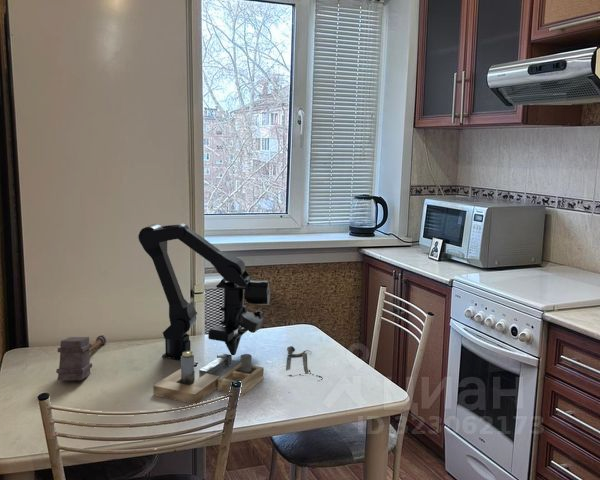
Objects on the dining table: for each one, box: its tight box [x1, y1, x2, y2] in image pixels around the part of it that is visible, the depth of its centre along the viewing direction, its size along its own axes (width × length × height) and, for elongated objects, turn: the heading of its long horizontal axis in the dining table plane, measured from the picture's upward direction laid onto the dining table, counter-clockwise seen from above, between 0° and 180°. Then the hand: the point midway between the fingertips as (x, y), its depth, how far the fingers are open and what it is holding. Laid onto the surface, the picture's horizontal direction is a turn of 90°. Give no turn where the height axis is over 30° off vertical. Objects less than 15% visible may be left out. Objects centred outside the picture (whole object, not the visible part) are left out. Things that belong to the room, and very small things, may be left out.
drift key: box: [198, 352, 233, 379], centre depth 159 cm, size 4×12×3 cm, turn 158°
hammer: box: [56, 334, 107, 381], centre depth 164 cm, size 7×33×10 cm, turn 4°
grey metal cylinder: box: [180, 350, 195, 385], centre depth 146 cm, size 3×3×10 cm
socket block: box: [152, 368, 221, 404], centre depth 146 cm, size 12×12×2 cm
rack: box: [217, 353, 265, 397], centre depth 150 cm, size 7×12×7 cm, turn 158°
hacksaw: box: [285, 345, 323, 382], centre depth 166 cm, size 24×10×2 cm, turn 179°
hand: (233, 354), depth 168 cm, fingers closed
